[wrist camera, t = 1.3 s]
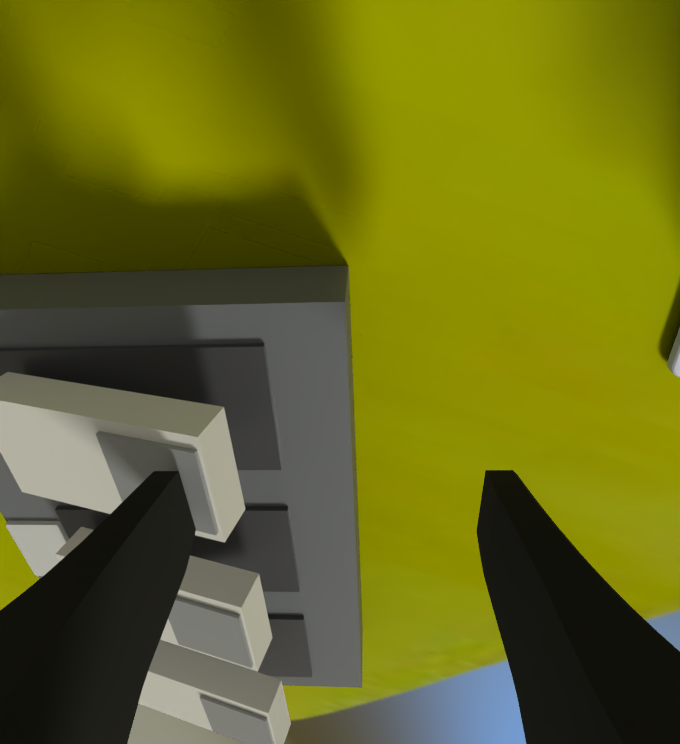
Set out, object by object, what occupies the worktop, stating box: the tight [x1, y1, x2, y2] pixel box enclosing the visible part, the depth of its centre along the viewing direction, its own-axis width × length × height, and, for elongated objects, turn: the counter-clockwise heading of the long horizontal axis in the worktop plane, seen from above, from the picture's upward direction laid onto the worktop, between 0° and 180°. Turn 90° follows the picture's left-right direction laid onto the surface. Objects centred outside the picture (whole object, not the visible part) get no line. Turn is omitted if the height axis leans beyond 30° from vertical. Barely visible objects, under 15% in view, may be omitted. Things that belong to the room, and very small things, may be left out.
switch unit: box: [0, 265, 362, 687], centre depth 20 cm, size 13×20×3 cm, turn 3°
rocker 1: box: [0, 372, 245, 543], centre depth 14 cm, size 7×4×1 cm, turn 92°
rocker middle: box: [56, 527, 272, 672], centre depth 17 cm, size 7×4×1 cm, turn 93°
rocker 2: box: [138, 640, 291, 744], centre depth 20 cm, size 7×4×1 cm, turn 93°
